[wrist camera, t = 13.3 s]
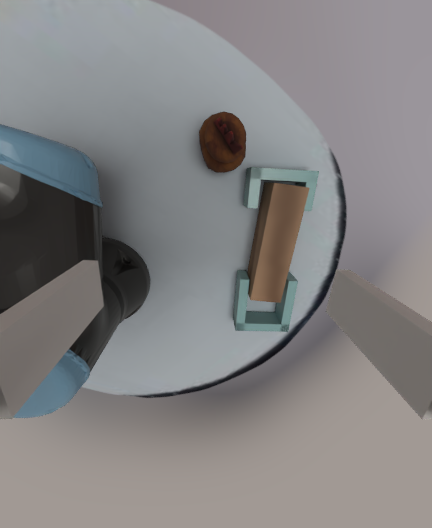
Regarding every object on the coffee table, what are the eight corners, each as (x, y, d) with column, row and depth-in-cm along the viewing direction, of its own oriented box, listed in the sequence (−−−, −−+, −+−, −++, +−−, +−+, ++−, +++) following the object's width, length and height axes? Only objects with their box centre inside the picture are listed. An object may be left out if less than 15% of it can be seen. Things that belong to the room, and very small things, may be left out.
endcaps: (233, 317, 45) (235, 330, 41) (246, 168, 36) (251, 167, 32) (281, 318, 45) (288, 331, 42) (307, 172, 36) (318, 171, 32)
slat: (244, 283, 43) (250, 299, 37) (264, 182, 37) (274, 182, 31) (270, 286, 43) (280, 302, 37) (294, 186, 37) (309, 187, 31)
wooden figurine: (244, 167, 36) (268, 159, 21) (208, 177, 36) (209, 176, 22) (234, 118, 33) (254, 73, 19) (195, 129, 34) (187, 93, 19)
